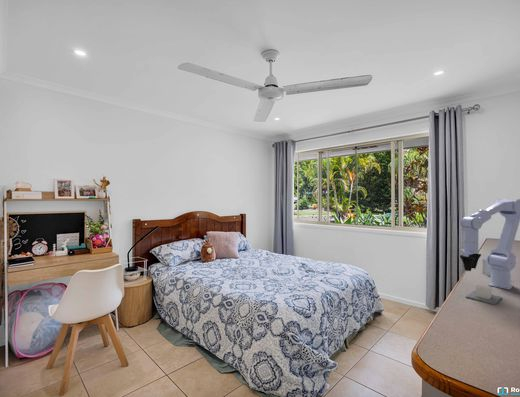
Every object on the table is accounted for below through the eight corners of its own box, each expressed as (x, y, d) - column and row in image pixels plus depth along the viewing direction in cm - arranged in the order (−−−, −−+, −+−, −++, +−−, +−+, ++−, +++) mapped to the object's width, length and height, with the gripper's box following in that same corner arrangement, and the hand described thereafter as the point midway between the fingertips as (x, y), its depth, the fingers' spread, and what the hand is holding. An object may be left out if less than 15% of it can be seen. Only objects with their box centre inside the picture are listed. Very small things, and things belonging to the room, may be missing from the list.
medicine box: (499, 277, 150) (500, 262, 150) (490, 277, 151) (490, 261, 151) (490, 273, 158) (491, 259, 158) (482, 273, 159) (482, 258, 159)
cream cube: (478, 294, 123) (479, 284, 123) (491, 297, 119) (491, 286, 119) (475, 296, 120) (476, 286, 120) (488, 299, 117) (489, 288, 116)
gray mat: (474, 291, 127) (474, 290, 127) (502, 298, 119) (502, 296, 119) (465, 297, 120) (465, 296, 120) (494, 304, 112) (494, 303, 112)
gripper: (465, 239, 139) (465, 265, 139) (455, 241, 130) (455, 270, 130) (483, 240, 134) (482, 268, 134) (473, 244, 125) (473, 273, 125)
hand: (470, 269), depth 132 cm, fingers open, 7 cm apart
